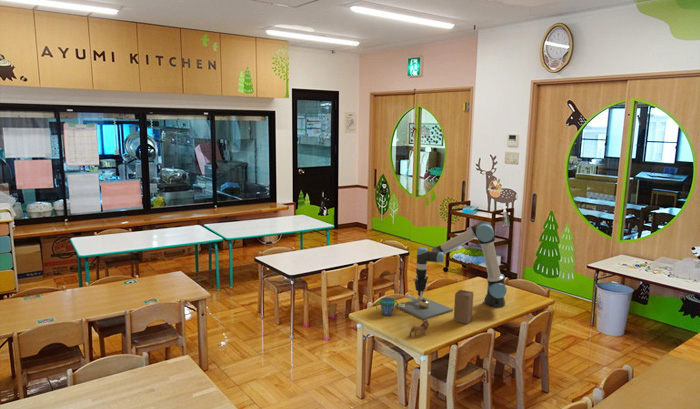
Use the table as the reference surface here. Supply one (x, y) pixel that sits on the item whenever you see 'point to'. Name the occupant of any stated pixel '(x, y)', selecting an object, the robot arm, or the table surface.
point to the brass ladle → (419, 301)
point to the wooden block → (463, 306)
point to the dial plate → (424, 309)
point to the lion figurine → (420, 328)
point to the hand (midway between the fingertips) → (420, 299)
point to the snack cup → (387, 305)
